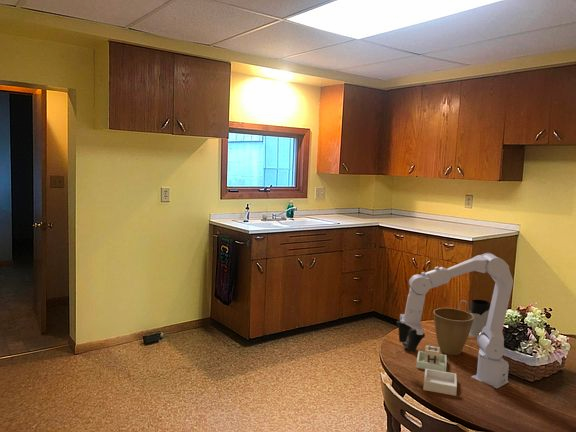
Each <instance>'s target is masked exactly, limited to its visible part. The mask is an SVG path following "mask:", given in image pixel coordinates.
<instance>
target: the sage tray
mask: <svg viewBox="0 0 576 432" xmlns="http://www.w3.org/2000/svg"><path fill="white" fill-rule="evenodd" d="M417 351H418V352H417V356H416V357H417V358H416V366H415V368H416V369H421V370H425V369H431V370H437V371H443V372H447V355H448V354H442V353H440V354H439V364H434V363H428V362H424V360H425V351H422V350H417Z"/></svg>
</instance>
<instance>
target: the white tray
mask: <svg viewBox="0 0 576 432" xmlns="http://www.w3.org/2000/svg"><path fill="white" fill-rule="evenodd" d="M457 385H458V381H457V373H453V372H449V371H446V372H443V371H437V370H431V369H424V378H423V391H429V392H432V393H433V392H434V393H440V394H445V395H450V396H456V397H457V390H458V389H457V388H458V386H457Z"/></svg>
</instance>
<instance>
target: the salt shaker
mask: <svg viewBox="0 0 576 432" xmlns="http://www.w3.org/2000/svg"><path fill="white" fill-rule="evenodd" d="M410 331H413V329H412V328H411V329H410ZM401 344H402V346H403V347H404V348H405V349H406V350H408V346H409V335H408V336H407V340H406V342H401ZM408 351H409V350H408Z"/></svg>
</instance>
